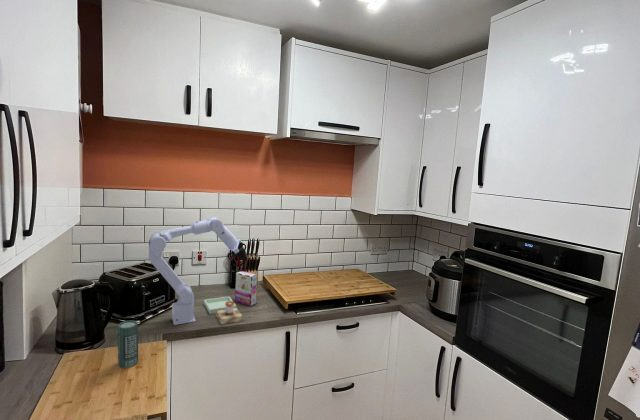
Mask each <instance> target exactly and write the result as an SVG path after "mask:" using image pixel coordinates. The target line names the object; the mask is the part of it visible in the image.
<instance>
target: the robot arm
mask: <svg viewBox="0 0 640 420" xmlns="http://www.w3.org/2000/svg"><path fill="white" fill-rule="evenodd" d="M211 231H212V233H213V232H214V233H215V235H216V237H217V238H218V239H219V240H220V241H221V242H222V243H223V244H224V245H225V246H226V247H227V248H228V250H230V251H232V252H233V253H232V256H233V257H235V258H238V259H240V260H241V261H242V262H246V261H247V260H249V257H248V256H247V252H246V250H245V248H244V246H243V244H242V242H241V241H242V239H241V238H238V239H237V238H236V237H235V235H234V234H233V233H232V232H231V231H230V230H229V229H228V228H227V227H226V226H225V225H224V224H223V222H222V221H221V220H220V219H218V218H217V217H210V218H206V219H205V220H201V221H199V219H198V220H195V221H193V222H192V224H191V225H187V226H183V227H182V226H181V227H176V228H175V227H174V228H171V229H170V228H169V229H165V230H164V229H163V230H161V231H156V232H154V233H152V234H151V236H150V238H149V240H148V260H149V262H150V263H151V264H152V265H153V266H154V268H155V269H156V270H157V271H158V273H160V274H161V276H162V277H163V278H164V279H165V281H166V282H167V283H168V284H169V285H170V286H171V288H172V289H173V290H174V291H175V293H176V295H177V296H178V300H176V302H173V303H172V304H171V320H172V322H173V325H174V326H177V325H182V324H188V323H189V324H190V323H195V322H196V321H197V320H196V317H195V300H194V299H195V295H194V293H193V290H192V287H191V286H190V285H189V284H186V283H185V282H184V281H183V280H182V279H181V278H180V277H179V276H178V275H177V273H176V272H175V271H174V269H173V268H172V267H171V266H170V265H169V264H168V263H167V261H166V260H165V259H164V257H163V256H162V254H163V252H164V250H165V248H166V247H167V243H170V242H171V241H172V240H173V239H174V238H176V237H181V236H184V235H189V234H194V235H195V236H196V235H201V234H205V233H210V232H211Z"/></svg>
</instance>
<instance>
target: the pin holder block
mask: <svg viewBox="0 0 640 420" xmlns="http://www.w3.org/2000/svg"><path fill="white" fill-rule="evenodd" d="M215 315H216V318H217V320H218V322H219V323H220V324H221V325H226V324H230V323H231V324H233V323H238V322H243V314H242V313H241V312H240V311H239V309H238V308H237V307H236V308H233V313H232V315H227V316H226V309H225V310H219V311H216V314H215Z"/></svg>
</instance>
